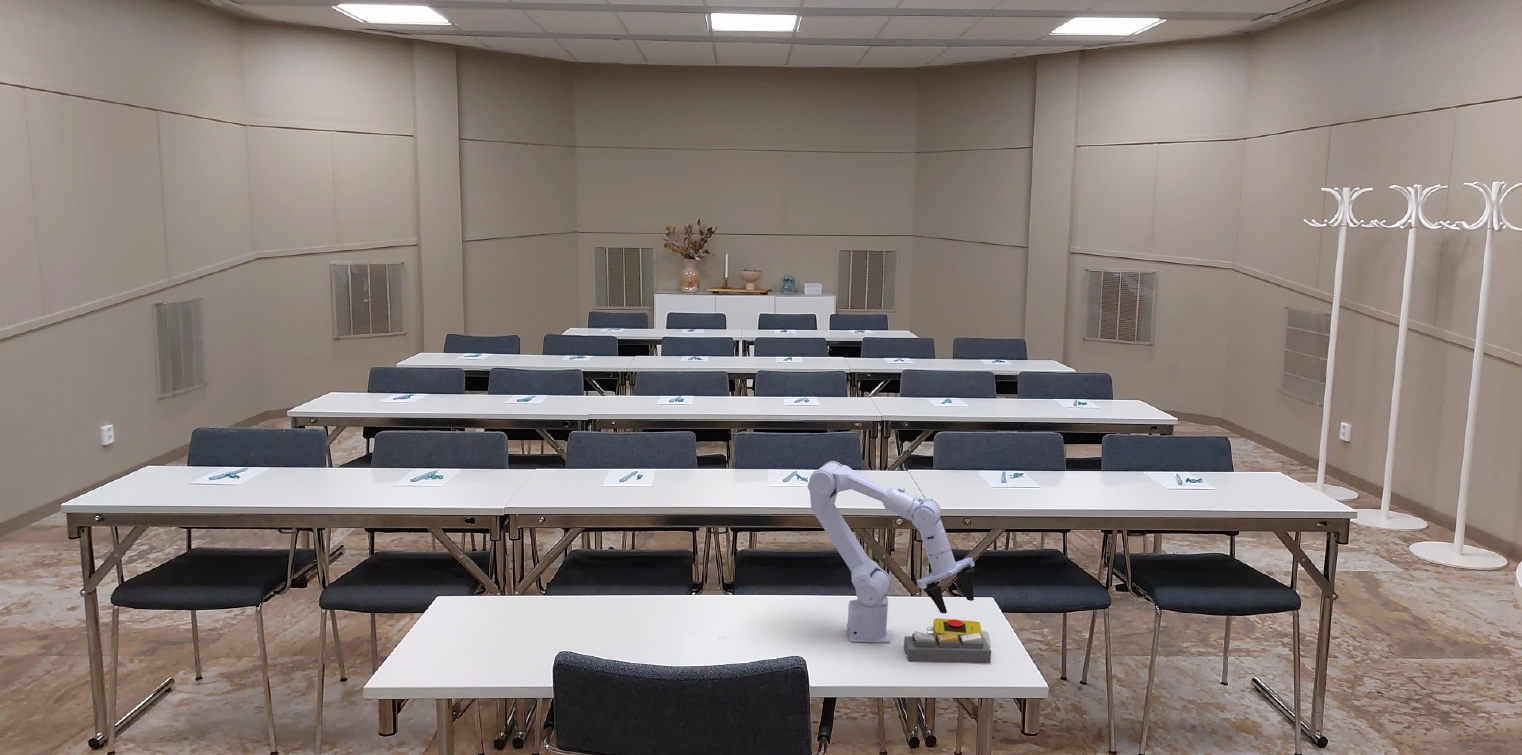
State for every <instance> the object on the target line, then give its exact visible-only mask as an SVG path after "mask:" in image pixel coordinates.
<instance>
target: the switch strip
mask: <svg viewBox="0 0 1522 755" xmlns="http://www.w3.org/2000/svg"><path fill="white" fill-rule="evenodd" d="M911 635H912V636H911ZM911 635H909V636H907V635H905V636H904V642H903V649H905V650H904V653H905V656H906V655H907V656H906V658H907V662H910V663H911V662H914V663H915V662H916V663H917V662H920V663H925V662H927V663H961V664H962V663H967V664H969V663H971V664H991V662H992V661H991V659H992V658H991V657H992V650H991V647H990V648H989V646H988V644H987V642H986V640H985V638H982V642H962V641H961V637H960V636H963V635H961V634H959V637H958V641H957V642H949V641H938V638H937V635H943V634H936V637H934V639H935V641H916V640H915V637H914V632H913V633H911ZM929 635H933V634H929Z"/></svg>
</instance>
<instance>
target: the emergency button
mask: <svg viewBox="0 0 1522 755" xmlns="http://www.w3.org/2000/svg"><path fill="white" fill-rule="evenodd" d="M928 628H931V629H928ZM926 629H927V631H933V633H928V632H927V631H926V634H933V637H936V634H948V633H954V632H956V634H957V636H958V637H959V634H961V635H969V634H974V633H979V634H980V636H981V638H985V640H986V642H987V644H988V646H989V648H990V649H991V648H992V644H991V640H990V634H989V632H988V631H986V630H985V631H983V630H982V627H981V622H980V621H975V620H964V619H963V620H962V619H956V618H951V619H950V618H938V617H937V618H935V617H934V619H933V624H932V626H929V627H926Z"/></svg>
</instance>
